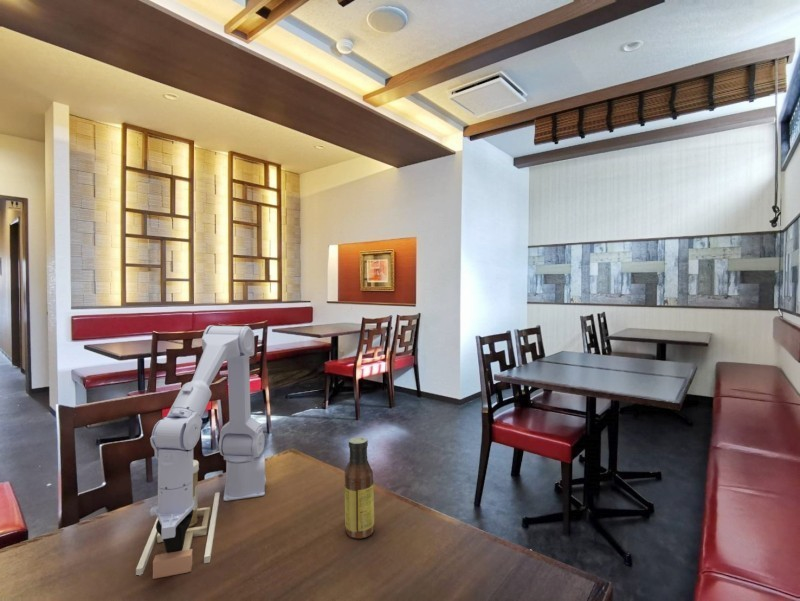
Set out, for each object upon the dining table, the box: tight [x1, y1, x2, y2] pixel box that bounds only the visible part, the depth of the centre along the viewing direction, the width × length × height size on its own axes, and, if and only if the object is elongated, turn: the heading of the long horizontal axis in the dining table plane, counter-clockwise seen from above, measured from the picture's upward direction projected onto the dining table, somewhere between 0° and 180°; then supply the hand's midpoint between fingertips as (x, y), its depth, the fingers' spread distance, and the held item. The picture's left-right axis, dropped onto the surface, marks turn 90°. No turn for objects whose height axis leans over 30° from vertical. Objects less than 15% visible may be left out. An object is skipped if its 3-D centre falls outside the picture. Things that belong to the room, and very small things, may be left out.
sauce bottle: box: [343, 436, 375, 539], centre depth 88 cm, size 7×6×20 cm
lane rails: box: [135, 491, 221, 576], centre depth 87 cm, size 12×26×1 cm, turn 20°
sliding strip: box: [152, 506, 211, 580], centre depth 83 cm, size 9×20×3 cm, turn 20°
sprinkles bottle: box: [188, 459, 200, 528], centre depth 90 cm, size 5×5×14 cm
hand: (174, 555), depth 76 cm, fingers closed
